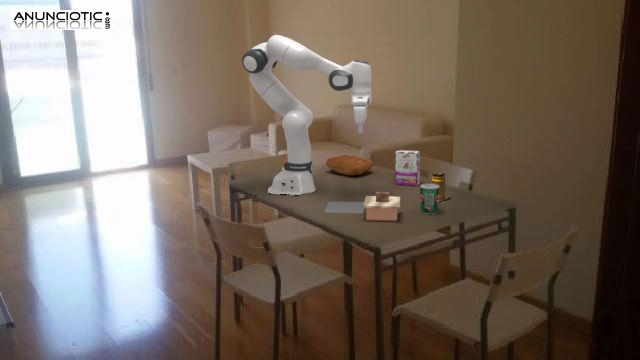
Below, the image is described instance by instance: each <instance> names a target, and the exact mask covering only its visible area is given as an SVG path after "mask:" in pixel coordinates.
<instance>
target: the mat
mask: <svg viewBox="0 0 640 360" xmlns="http://www.w3.org/2000/svg"><path fill="white" fill-rule="evenodd" d="M364 202H365V201H328V203H327V205H326V207H325V209H324V213H327V214H329V213H330V214H338V213H339V214H364V210H365V208H364Z"/></svg>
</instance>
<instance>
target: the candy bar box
mask: <svg viewBox="0 0 640 360" xmlns="http://www.w3.org/2000/svg"><path fill="white" fill-rule="evenodd" d="M420 154H421V151H420V150H402V149H401V150H400V149H397V150H396V151H395V153H394V158H395V159H394V161H395V162H394V164H395V165H394V172H395V173H394V179H395V180H394V185H396V186H410V187H411V186H412V187H418V186H420V185H421V184H420V179H421V178H420V177H421V175H420V174H421V173H420V172H421V170H420V169H421V167H420V165H421V161H420V160H421V155H420Z"/></svg>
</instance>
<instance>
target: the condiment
mask: <svg viewBox="0 0 640 360" xmlns="http://www.w3.org/2000/svg"><path fill="white" fill-rule="evenodd" d="M431 176H432V177H431V183H430V184H437V185H439V186H440V187H439V201H442V200H444V199H445V197H446V177H445V176H446V174H445V172H443V171H435V172H433V173H432V175H431Z"/></svg>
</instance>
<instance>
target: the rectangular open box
mask: <svg viewBox="0 0 640 360" xmlns="http://www.w3.org/2000/svg"><path fill="white" fill-rule="evenodd" d="M365 214H366V215H365V217H366V221H373V222H375V221H377V222H378V221H380V222H397V221H398V209H394V208H365Z"/></svg>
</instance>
